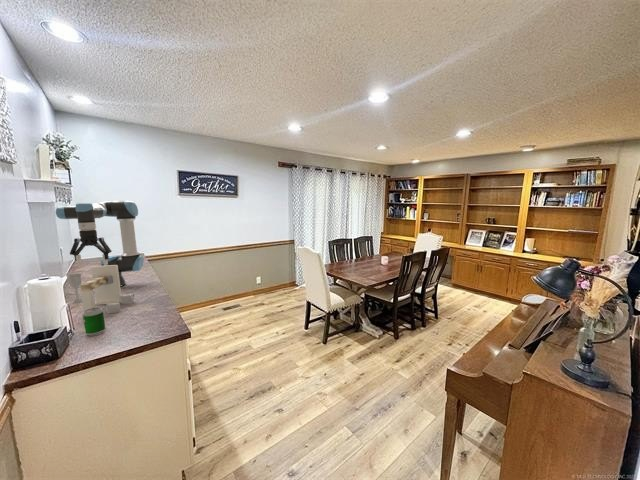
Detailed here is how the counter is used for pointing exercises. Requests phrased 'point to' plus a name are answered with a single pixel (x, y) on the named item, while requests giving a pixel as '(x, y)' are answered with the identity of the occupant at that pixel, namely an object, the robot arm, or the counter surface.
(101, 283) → the rail
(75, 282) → the chalice
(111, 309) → the stand
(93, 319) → the soda can
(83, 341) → the counter surface
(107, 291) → the white shelf
